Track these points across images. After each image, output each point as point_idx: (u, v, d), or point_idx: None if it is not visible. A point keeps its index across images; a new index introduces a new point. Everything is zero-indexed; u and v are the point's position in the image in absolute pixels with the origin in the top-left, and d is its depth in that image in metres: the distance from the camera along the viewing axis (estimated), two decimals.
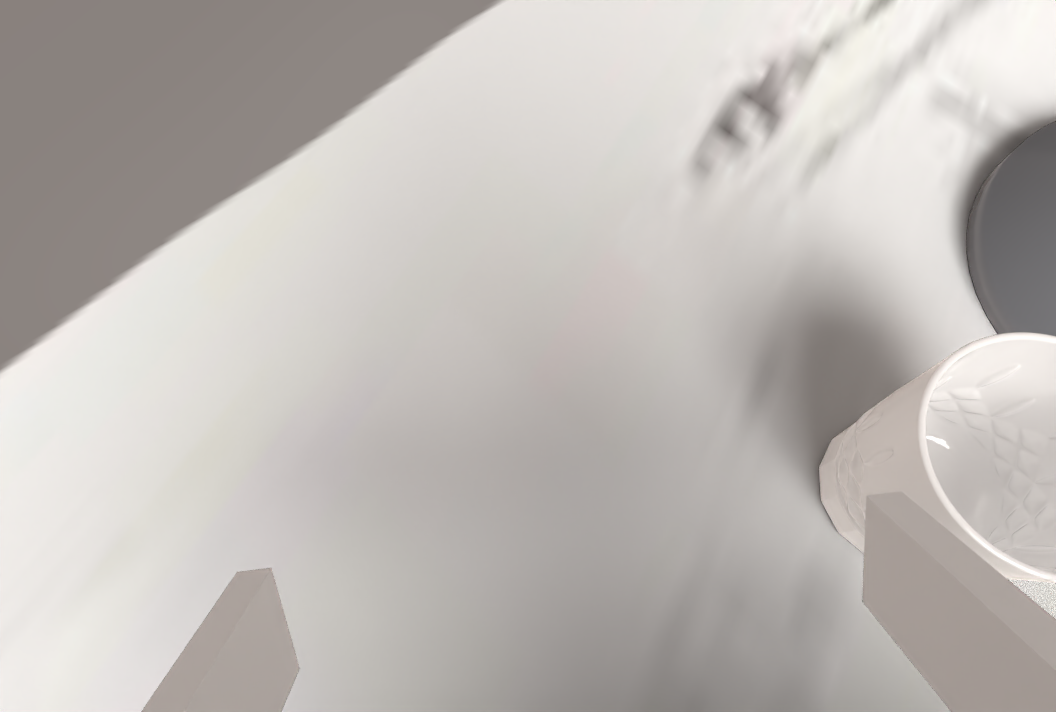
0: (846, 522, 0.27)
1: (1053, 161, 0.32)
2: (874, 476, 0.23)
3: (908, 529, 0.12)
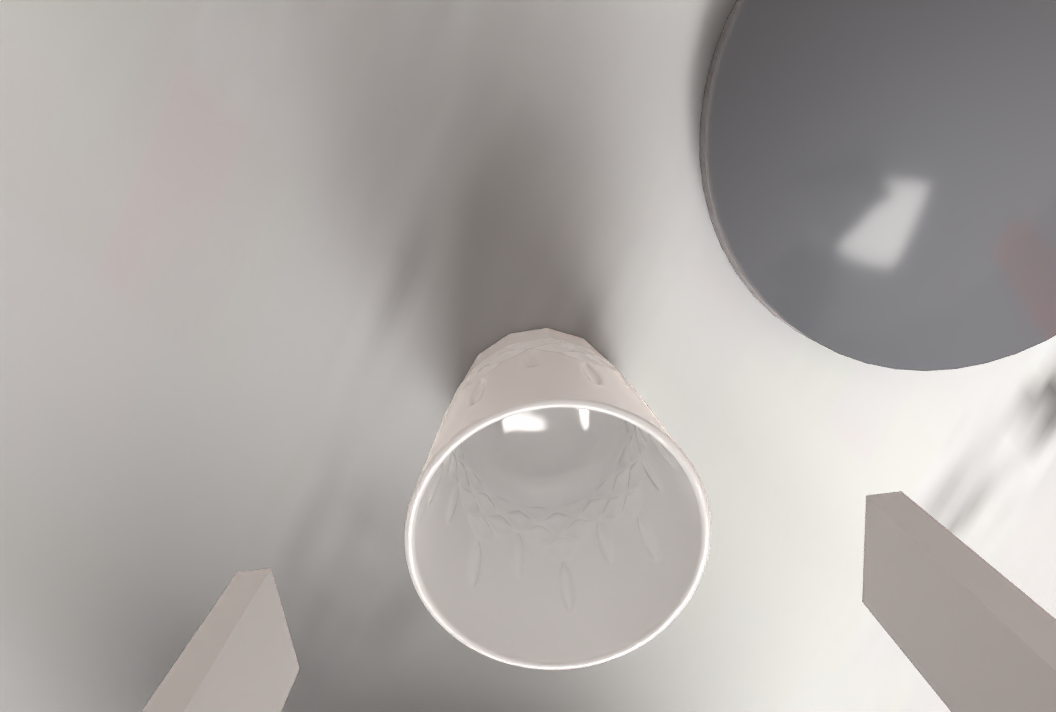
0: None
1: None
2: None
3: (907, 529, 0.12)
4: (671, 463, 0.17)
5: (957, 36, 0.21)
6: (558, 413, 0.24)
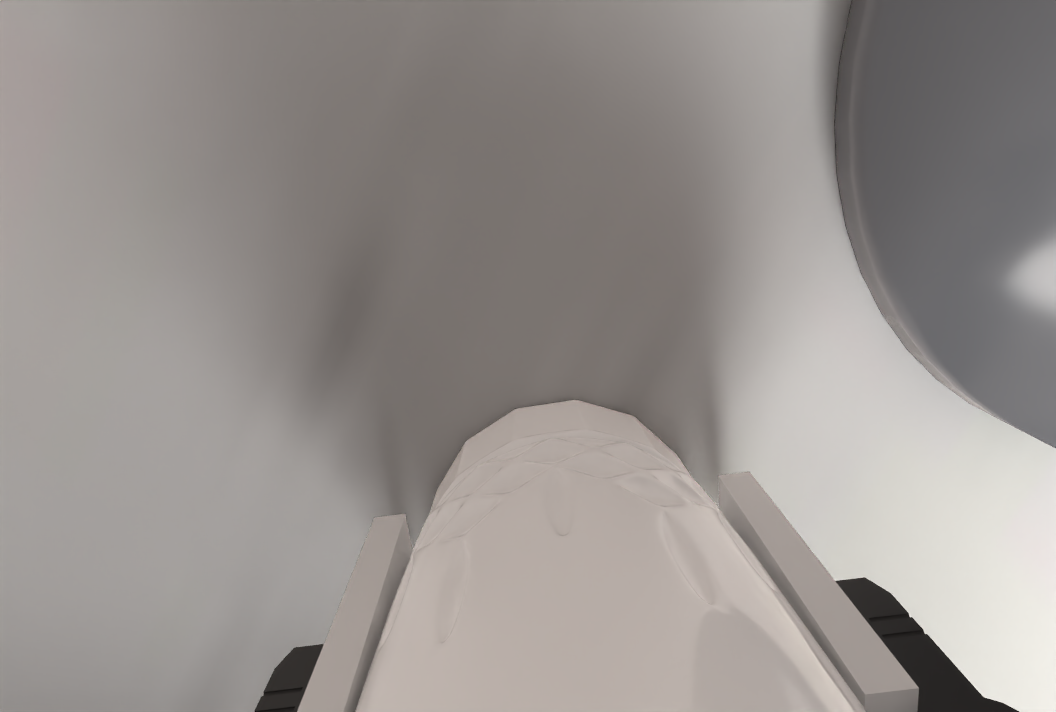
0: None
1: None
2: None
3: (741, 502, 0.14)
4: None
5: None
6: None
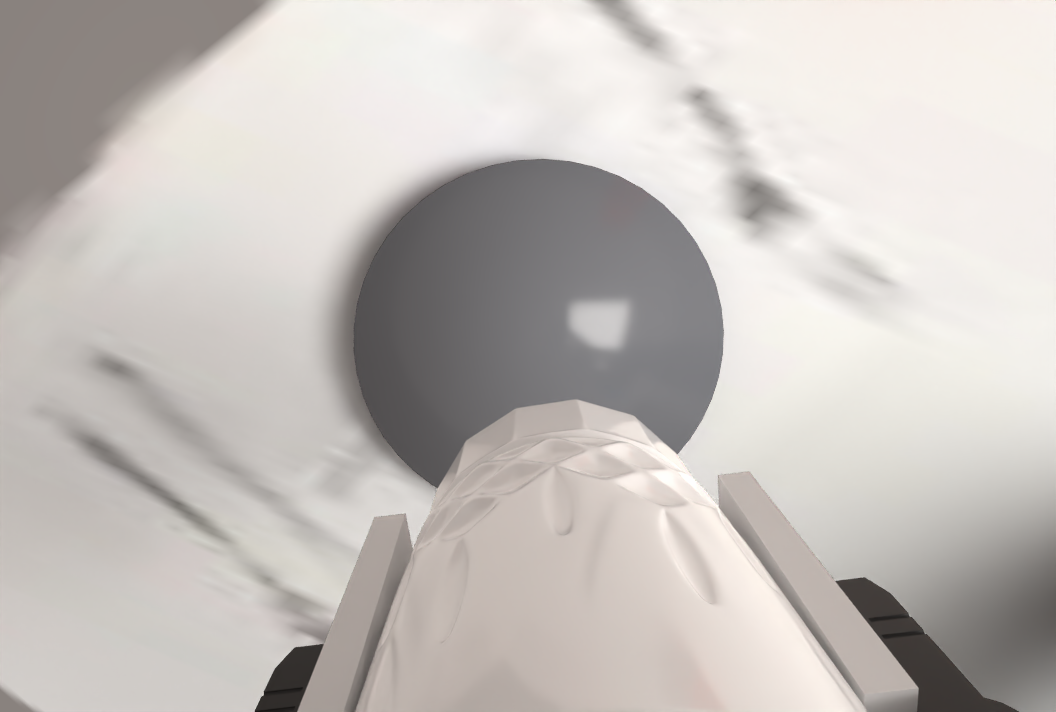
0: None
1: (426, 438, 0.32)
2: None
3: (741, 502, 0.14)
4: None
5: (485, 371, 0.31)
6: None
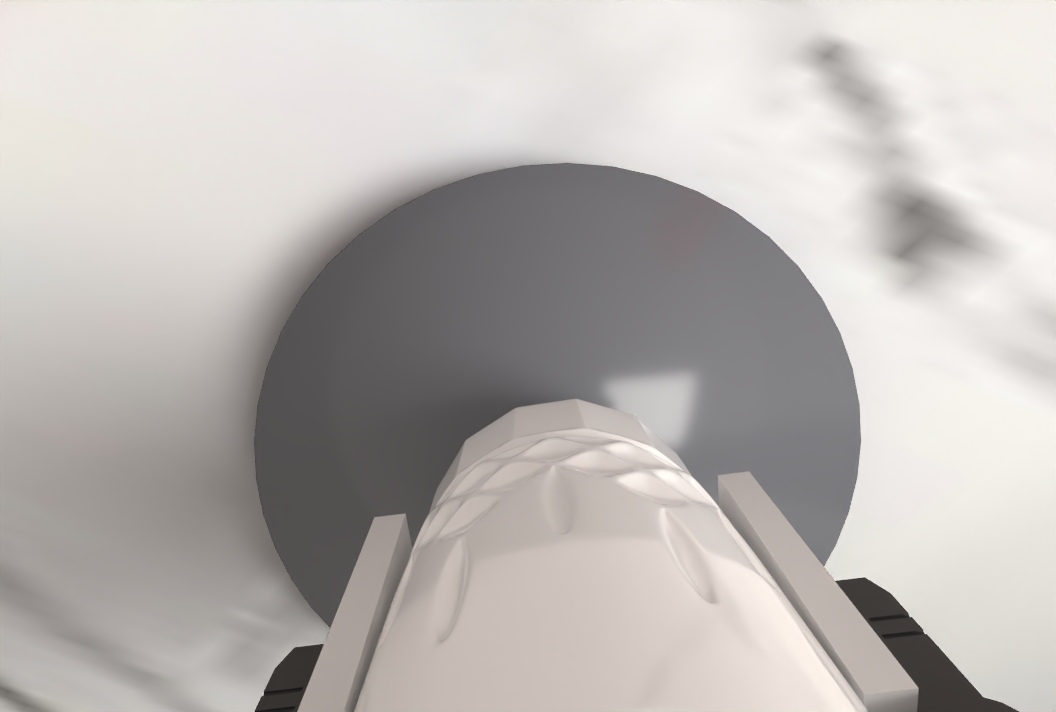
0: None
1: None
2: None
3: (741, 502, 0.14)
4: None
5: None
6: None
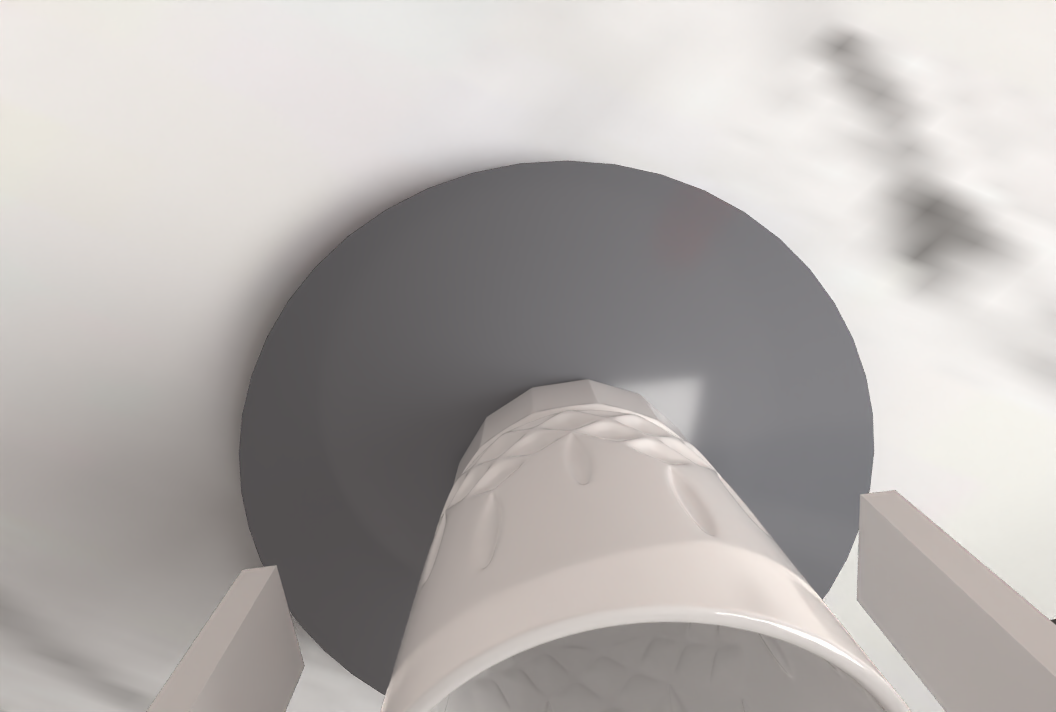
0: None
1: (371, 626, 0.19)
2: None
3: (901, 527, 0.12)
4: (835, 666, 0.10)
5: None
6: None
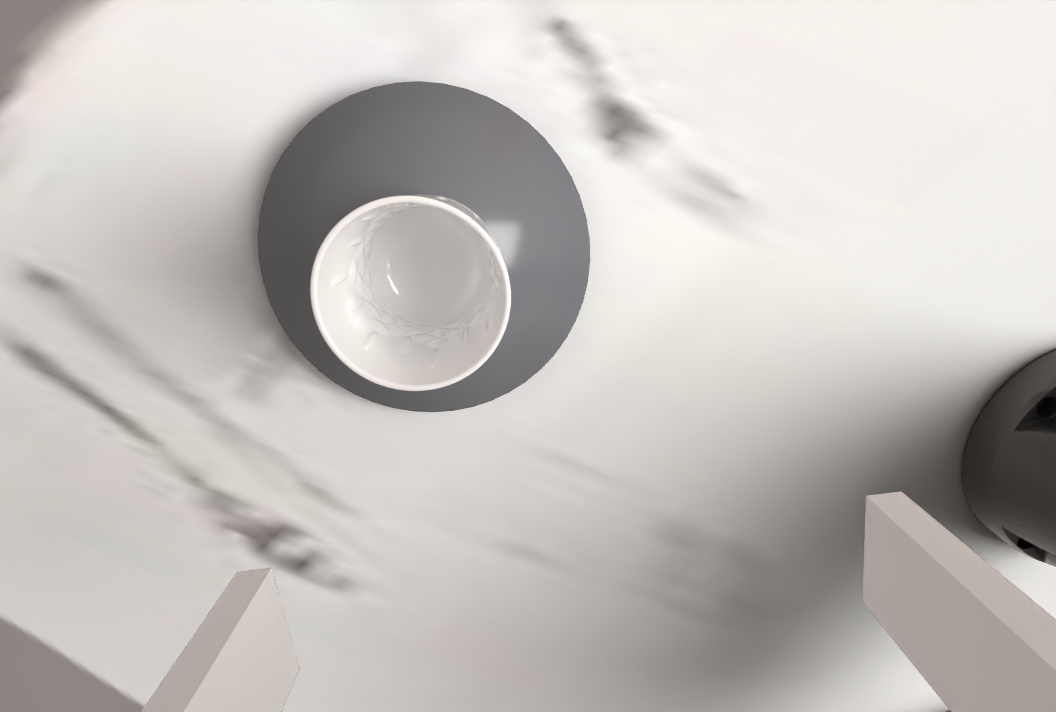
0: None
1: None
2: None
3: (907, 528, 0.12)
4: (494, 257, 0.26)
5: None
6: (443, 256, 0.32)
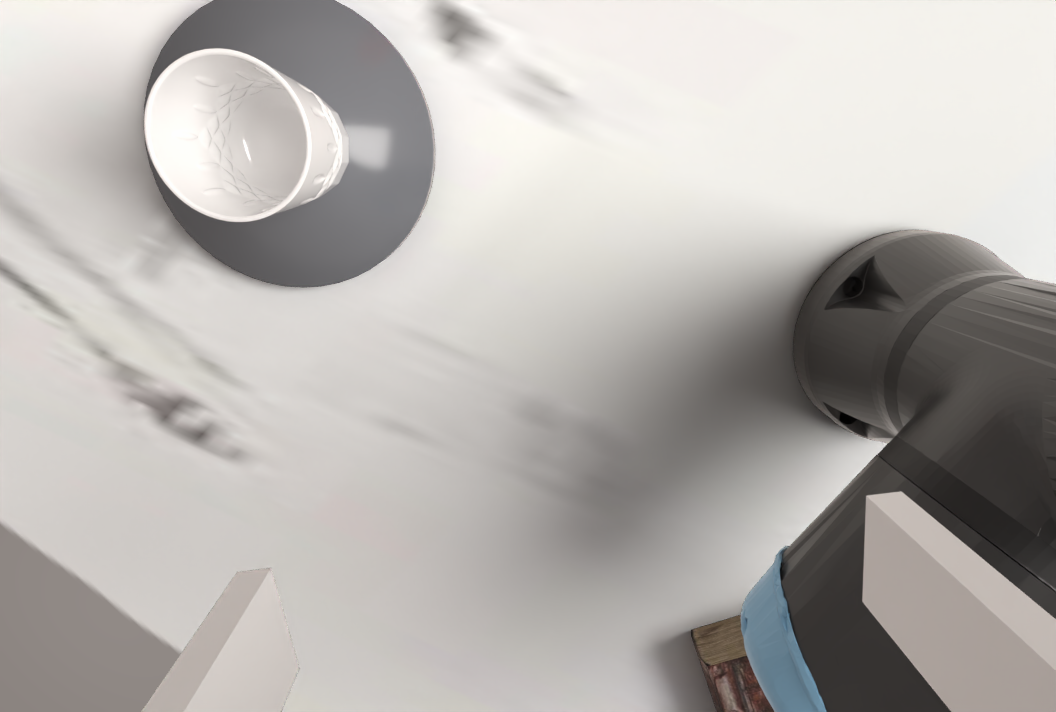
0: None
1: (209, 220, 0.41)
2: None
3: (907, 529, 0.12)
4: None
5: None
6: (297, 138, 0.38)
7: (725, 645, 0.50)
